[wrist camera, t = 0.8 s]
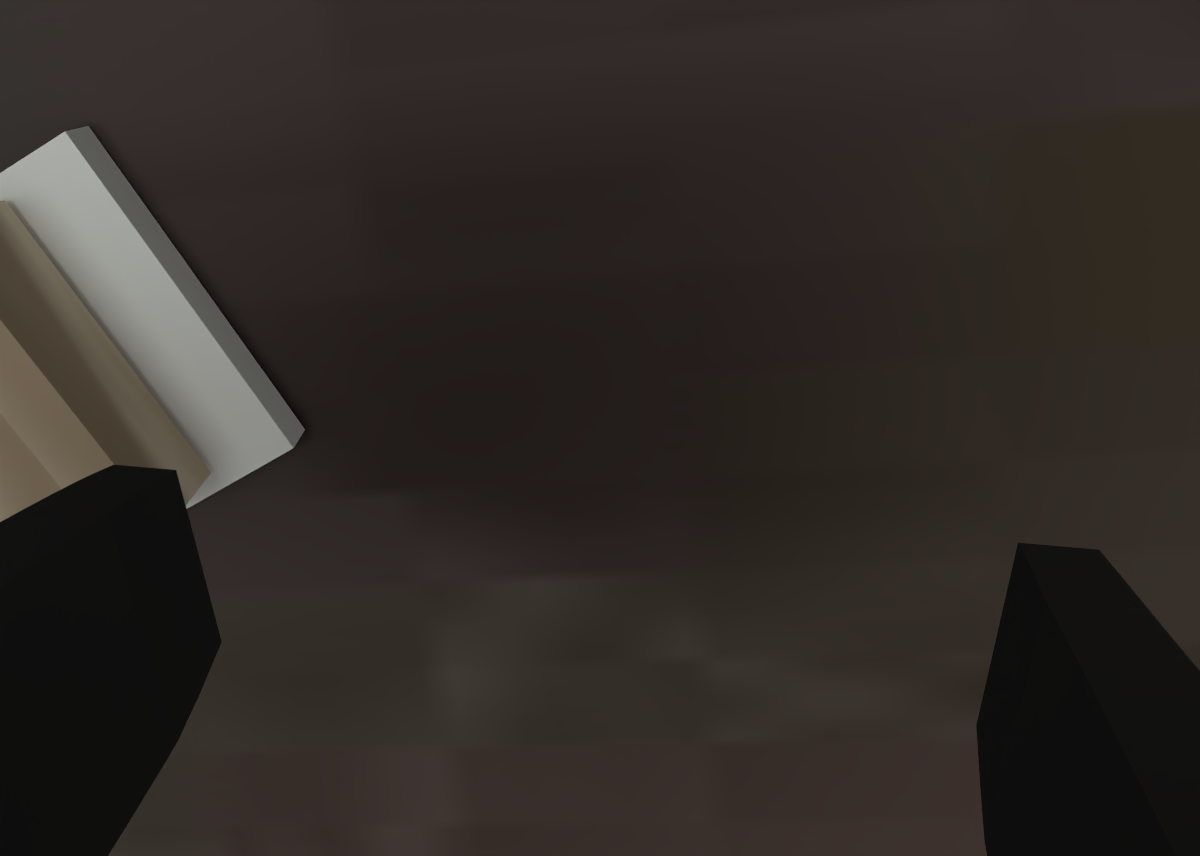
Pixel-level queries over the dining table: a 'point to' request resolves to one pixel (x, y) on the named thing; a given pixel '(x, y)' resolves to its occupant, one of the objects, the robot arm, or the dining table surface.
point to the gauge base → (150, 306)
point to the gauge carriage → (68, 388)
